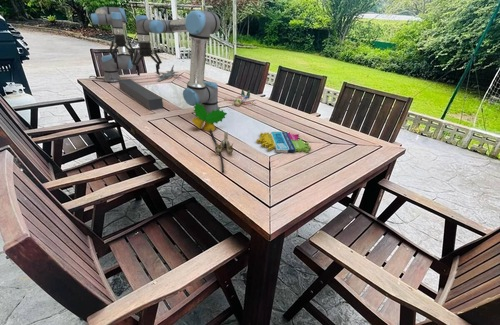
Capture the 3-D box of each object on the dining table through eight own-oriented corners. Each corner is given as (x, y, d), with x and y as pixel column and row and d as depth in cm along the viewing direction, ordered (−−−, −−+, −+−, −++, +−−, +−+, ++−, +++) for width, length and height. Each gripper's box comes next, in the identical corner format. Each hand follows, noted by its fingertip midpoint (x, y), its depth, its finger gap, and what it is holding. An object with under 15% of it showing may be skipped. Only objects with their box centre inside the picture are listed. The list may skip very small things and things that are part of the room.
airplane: (149, 74, 288) (148, 65, 283) (178, 73, 302) (177, 64, 297) (156, 83, 260) (154, 73, 255) (187, 81, 273) (186, 71, 268)
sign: (313, 150, 142) (258, 149, 139) (312, 153, 143) (258, 152, 140) (301, 132, 164) (254, 130, 161) (301, 134, 165) (254, 133, 162)
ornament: (218, 133, 171) (224, 110, 169) (221, 134, 163) (227, 111, 161) (186, 125, 162) (192, 101, 160) (189, 126, 155) (195, 101, 153)
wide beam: (163, 108, 193) (162, 98, 190) (149, 110, 188) (148, 100, 184) (131, 87, 239) (129, 78, 236) (119, 88, 234) (118, 79, 230)
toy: (261, 91, 228) (254, 99, 202) (261, 99, 231) (253, 108, 205) (231, 87, 233) (220, 95, 207) (230, 95, 236) (219, 104, 210)
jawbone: (234, 135, 144) (233, 125, 135) (233, 160, 138) (232, 151, 129) (217, 135, 144) (216, 125, 135) (216, 160, 138) (214, 150, 129)
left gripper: (133, 34, 219) (137, 60, 230) (101, 33, 205) (106, 62, 215) (136, 34, 215) (140, 62, 225) (103, 34, 200) (109, 63, 210)
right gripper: (160, 41, 184) (163, 72, 194) (123, 41, 169) (128, 74, 179) (164, 42, 179) (167, 74, 189) (126, 42, 164) (132, 77, 175)
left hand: (123, 62), depth 220 cm, fingers open, 13 cm apart
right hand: (148, 74), depth 184 cm, fingers open, 13 cm apart
